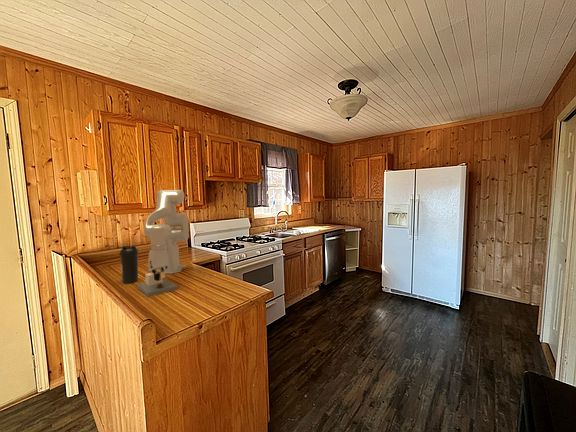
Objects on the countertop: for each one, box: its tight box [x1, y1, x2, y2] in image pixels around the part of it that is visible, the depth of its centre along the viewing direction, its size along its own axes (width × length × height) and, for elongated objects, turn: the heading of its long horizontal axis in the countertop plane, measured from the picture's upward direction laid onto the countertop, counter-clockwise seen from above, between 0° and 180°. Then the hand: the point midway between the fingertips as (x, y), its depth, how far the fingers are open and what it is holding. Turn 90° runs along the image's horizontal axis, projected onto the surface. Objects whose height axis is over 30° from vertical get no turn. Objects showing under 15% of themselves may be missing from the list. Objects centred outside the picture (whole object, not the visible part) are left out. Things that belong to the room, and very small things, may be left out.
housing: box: [137, 278, 179, 297], centre depth 151 cm, size 16×20×2 cm
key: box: [150, 268, 166, 287], centre depth 148 cm, size 2×14×9 cm, turn 49°
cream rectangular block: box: [144, 272, 163, 286], centre depth 154 cm, size 8×6×6 cm
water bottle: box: [118, 245, 139, 285], centre depth 164 cm, size 10×10×23 cm
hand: (159, 279), depth 147 cm, fingers closed on key, 3 cm apart
